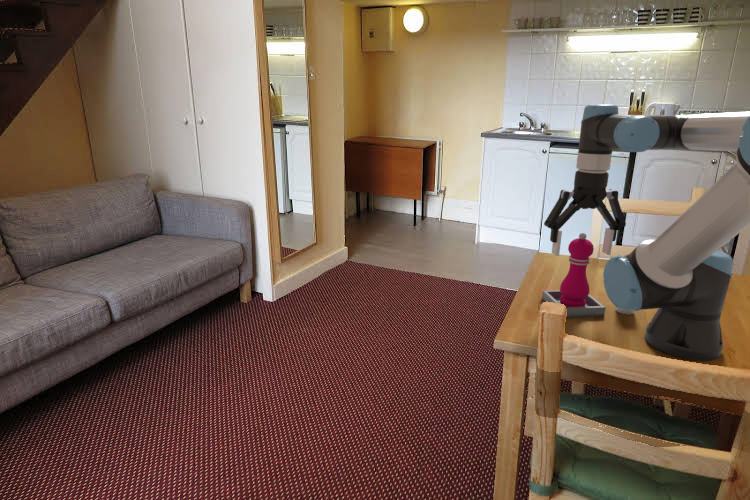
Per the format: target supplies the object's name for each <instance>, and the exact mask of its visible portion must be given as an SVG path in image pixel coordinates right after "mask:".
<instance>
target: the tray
mask: <svg viewBox="0 0 750 500" xmlns="http://www.w3.org/2000/svg"><path fill="white" fill-rule="evenodd" d="M541 294H542V295H541V300H542V301H543V302H544V301H548V302H554V303H560V299H561V296H563V295H562V294H561V292H560V289H558V290H557V289H556V290H555V289H554V290H542V293H541ZM585 300H586V303H585V307H566V309H567V317H566V318H588V317H589V318H590V317H591V318H592V317H594V318H595V317H596V318H597V317H605V313H606V306H605V305H603V304H602V303H600V301H599V300H597V299H596V298H595V297H593V296H592V295H591V294H590V293H589V295H588V296H587V297H586V298H585Z"/></svg>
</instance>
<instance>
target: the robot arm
mask: <svg viewBox="0 0 750 500" xmlns="http://www.w3.org/2000/svg"><path fill="white" fill-rule="evenodd" d="M582 113H583V114H582V120H581V122H580V125H581V126H580V134H579V141H578V151H577V158H576V166H575V167H576V169H577V170H576V171H575V174H574V183H573V190H571V191H569V190H566V189H561V190H560V192H559V197H558V199H557V201H556V202H555V205H554V206H553V207H552V209H551V211H550V213H549V214H548V215H547V218H546V220H545V221H544V223H543V225H544V226H545V227H546V228H548V229H550V237H549V240H550V242H551V243H552V247H551V254H553V255H554V256H556V257H559V256H560V251H561V244H562V243H561V242H562V237H563V235H562V234H563V230H561V228H562V227H563V226H564V225H565V224H566V223H567V222H568V221H569V220H570V218H572V217H573V216H574V214H575V213H576V212H579V211H580V209H583V210H587V209H591V210H595V209H596V210H597V211H598V212H599V214H600V215H601V217H602V218H603V220H604V221H605V222H606V224H607V225H608V226H607V227H605V229H604V230H605V231H604V236H603V243H602V249H601V252H602V253H603V254H606V255H608V256H611V253H612V249H613V248H612V246H613V242H615V241H616V238H617V233H618V231H620V230H621V228H625V227H626V226H627V223H626V220H625V217H624V214H623V211H622V208H621V204H620V201H619V191H618V190H615V189H613V188H610V189H609V190H607V186H608V182H609V176H610V175H609V172H608V171H610V169H611V162H612V155H613V149H614V150H620V151H625V152H626V153H643V152H647V151H657V150H658V151H659V150H661V151H662V150H669V151H670V150H675V151H677V150H678V151H679V150H681V151H713V152H714V151H715V152H717V151H718V152H735V159H736V162H735V164H734V165H732V166H731V167H730V168H729V169H728V170H727V171H726V172H725V173H724V174H723V175H722V176H720V178H718V180H716V181H715V183H713V184H712V185H711V186H710V187H709V189H707V190H706V191H705V192H704V193H703V194H702V195H701V196H700V197H699V198H698V199H696V201H695V202H694V203H692V205H690V206H689V207H688V208H687V209H686V210H685V211H684V212H683V213H682V214H681V215H680V216H679V217H678V218H677V219H675V221H674V222H673V223H671V224H670V225H669V226H668V227H667V229H666V230H664V231H663V232H662V233H661V234H660V235H659V236H658V237H657V238H650V239H645V240H643V241H642V242H640V243H639V244H638V245H637V246H636V247H635V248H634V249H632V251H631V252H630V253H628V254H626V255H622V254H618V255H616V256H612V257H610V258H609V259H608V260H607V261H606V263H605V265H604V268H603V274H602V277H603V280H602V281H603V287H604V290H605V292H606V296H607V297H608V299H609V300H610V302H611V304H613V305H614V307H615V308H616V307H618V308H620V309H621V310H625V311H630V310H633V311H634V312H638V311H643V310H645V311H646V310H654V309H657V310H656V312H655V313H654V315H653V317H652V319H651V320H650V321H649V323H648V324H647V325H646V327H645V328H646V329H645V333H644V338H645V340H646V342H647V343H649V345H651V346H652V347H653V348H655V349H656V350H659V351H660V352H662V353H665V354H668V355H670V356H673V357H677V358H680V359H684V360H689V361H690V360H691V361H697V362H698V361H700V362H701V361H702V362H703V361H704V362H705V361H707V362H708V361H712V360H716V359H719V358H720V357H721V356H722V352H723V348H724V342H723V334H722V328H721V327H722V326H721V322H720V321H721V316H722V312H723V309H724V306H725V305H724V304H725V301H726V298H727V293H728V289H729V286H730V282H731V278H732V276H733V268H734V260H733V257H732V256H731V255H729V254H728V253H726V252H723V251H721V250H720V249H721V248H723V246H725V245H726V244H727V243H729V242H730V241H731V240H733V239H734V238H735V237H736V236H738V235H739V234H740V233H741V232H742V231H744V230H745V229H746V228H747V227H749V226H750V111H733V112H732V111H731V112H713V113H691V114H690V113H689V114H667V115H666V114H619V106H618V105H616V104H587V105H586V106H585V107H584V108H583V112H582ZM571 198H572V201H570V203H568V202H569V200H571ZM605 199H607V200H608V203H609V206H610V208H611V212H612V214H613V215H612V214H611V213H610V211H609V210H608V208H607V206H606V204H605V202H604V200H605ZM567 204H568V206H567V208H565V207H566V205H567ZM563 210H564V211H563Z"/></svg>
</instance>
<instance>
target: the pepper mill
mask: <svg viewBox="0 0 750 500" xmlns="http://www.w3.org/2000/svg"><path fill="white" fill-rule="evenodd" d="M567 249H568V252H569V254H570V255H569V256H568V262H569V268H568V272H567V274H566V276H565V277H564V278H563V280H562V281H561V283H560V287H559V290H560V292H561V294H562V295H563V296H561V299H560V303H561V304H564V305H565V306H566V307H585V303H586V300H585V298H586V297H587V296H588V295H589V294H590V285H589V284H590V283H589V282H588V278H587V267H588V265H589V264H590V260H591V259H590V257H591V256H592V255H593V254H594V245H593V243H592V241H591V240H589V239H587V234H586V233H585V232H581V233H580V234H579V235H578V238H574V239H573V240H571V241H570V242H569V244H568V247H567Z"/></svg>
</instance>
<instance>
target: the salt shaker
mask: <svg viewBox="0 0 750 500" xmlns="http://www.w3.org/2000/svg"><path fill="white" fill-rule="evenodd" d="M615 311H616V312H617V313H620V314H623V315H633V314H634V313H635V311H633V310H630V311H625V310H621V309H620V308H618V307H616V306H615Z"/></svg>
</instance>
